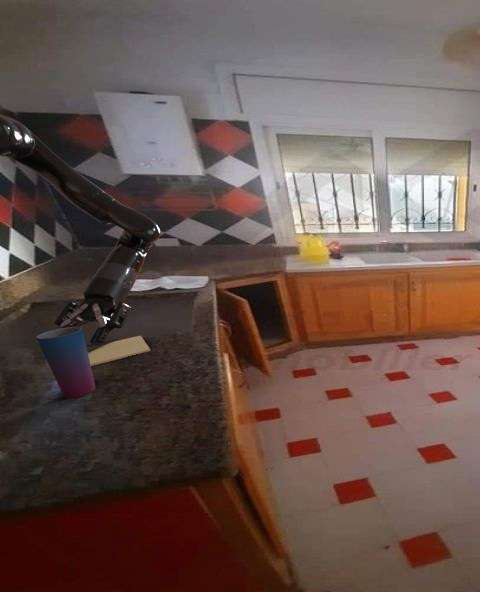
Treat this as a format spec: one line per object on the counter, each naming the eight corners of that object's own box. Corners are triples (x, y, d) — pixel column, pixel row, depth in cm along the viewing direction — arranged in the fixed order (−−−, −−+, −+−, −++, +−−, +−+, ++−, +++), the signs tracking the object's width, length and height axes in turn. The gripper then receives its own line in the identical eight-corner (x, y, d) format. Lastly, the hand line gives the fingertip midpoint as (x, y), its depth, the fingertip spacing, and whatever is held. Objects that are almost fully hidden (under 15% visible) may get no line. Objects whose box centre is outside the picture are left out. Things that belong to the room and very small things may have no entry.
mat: (71, 371, 83) (71, 369, 82) (70, 353, 93) (69, 351, 93) (150, 350, 94) (150, 349, 94) (141, 337, 104) (140, 335, 104)
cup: (54, 404, 69) (30, 341, 64) (63, 390, 74) (42, 331, 70) (97, 393, 72) (77, 333, 68) (103, 381, 78) (85, 324, 74)
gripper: (70, 276, 77) (29, 338, 69) (127, 276, 77) (92, 338, 69) (98, 291, 84) (63, 349, 76) (150, 291, 84) (121, 349, 76)
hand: (77, 344), depth 72 cm, fingers open, 8 cm apart
